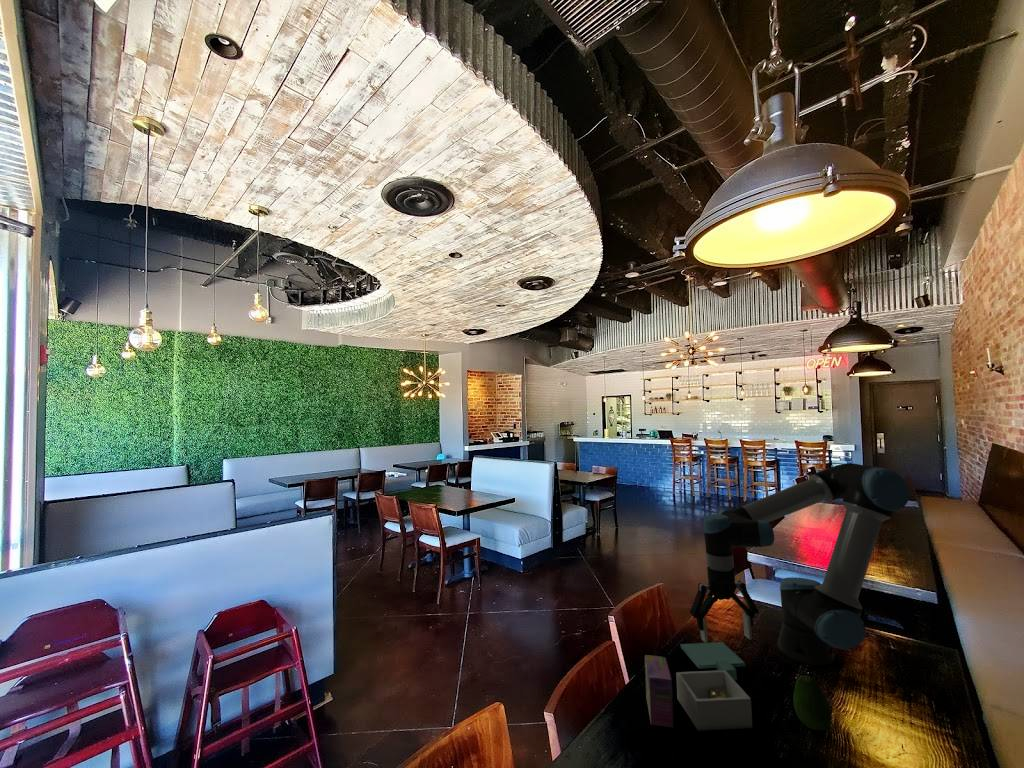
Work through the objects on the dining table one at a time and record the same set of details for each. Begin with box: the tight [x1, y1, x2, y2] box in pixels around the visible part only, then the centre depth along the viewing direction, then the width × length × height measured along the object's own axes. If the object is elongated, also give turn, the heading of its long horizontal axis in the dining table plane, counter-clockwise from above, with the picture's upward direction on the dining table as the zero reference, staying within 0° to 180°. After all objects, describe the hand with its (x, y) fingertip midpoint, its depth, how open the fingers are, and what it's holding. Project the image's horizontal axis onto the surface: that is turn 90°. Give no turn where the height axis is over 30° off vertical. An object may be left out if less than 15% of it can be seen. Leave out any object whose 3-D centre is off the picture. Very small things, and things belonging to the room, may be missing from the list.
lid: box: [679, 641, 746, 682], centre depth 133 cm, size 15×18×3 cm
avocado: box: [792, 675, 832, 731], centre depth 106 cm, size 8×8×12 cm
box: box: [644, 654, 674, 728], centre depth 112 cm, size 10×6×12 cm, turn 168°
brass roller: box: [709, 690, 729, 699], centre depth 114 cm, size 4×3×3 cm
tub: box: [675, 669, 753, 732], centre depth 112 cm, size 14×12×7 cm
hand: (726, 639), depth 128 cm, fingers open, 13 cm apart
